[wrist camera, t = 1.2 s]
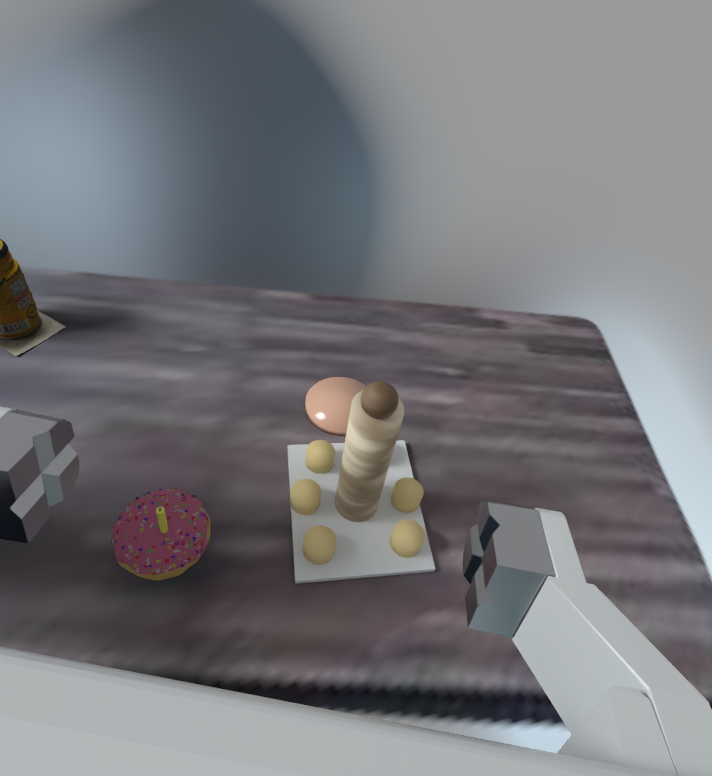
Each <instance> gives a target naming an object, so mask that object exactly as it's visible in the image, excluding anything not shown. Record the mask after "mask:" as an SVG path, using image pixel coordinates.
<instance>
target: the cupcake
mask: <svg viewBox="0 0 712 776" xmlns="http://www.w3.org/2000/svg"><path fill="white" fill-rule="evenodd" d="M210 527H211V523H210V518H209V516H208V514H207V512H206V510H205V509H204V505H203V504H202V502H201V501H199V500H198V498H196V496H195V497H194V496H193V495H190V494H188V493H186V492H184V491H181V490H177V489H167V490H161V489H160V490H158V491H153V492H152V493H151V492H149V494H148V493H147V494H146V495H143V496H142V497H140V498H139V497H136V500H135V501H134V502H132V503H131V504H130V505H129V506H128V507H126V508H125V510H124V511H123V512H122V514H121V515H120V517H119V518H118V520H117V521H116V523H115V525H114V527H113V530H112V542H111V543H112V544H113V546H114V552H115V557H116V559H117V561H118V563H119V565H120V566H122V567H123V568H125V569H126V570H128V571H129V572H131V573H133V574H135V575H137V576H139V577H142V578H145V579H149V580H164V579H168V578H171V577H176V576H179V575H181V574H182V573H184V572H185V571H186V570H187V569H188V568H189V567H190V566H192V565H193V564H195V563H196V562H197V561H198V560H199V559H200V557H201V555H202V554H203V552H204V551H205V549H206V547H207V544H208V542H209V539H210Z"/></svg>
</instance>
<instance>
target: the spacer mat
mask: <svg viewBox="0 0 712 776" xmlns="http://www.w3.org/2000/svg"><path fill="white" fill-rule="evenodd" d="M344 444H345V443H329V442H327V441H324V440H316V441H313V442H311V443H310V444H304V445H288V446H287V449H288V467H289V484H290V506H291V519H292V536H293V554H294V571H295V584H296V583H307V582H319V581H331V580H342V579H354V578H365V577H377V576H389V575H400V574H412V573H423V572H434V571H435V565H434V561H433V557H432V553H431V549H430V545H429V540H428V536H427V532H426V528H425V524H424V520H423V515H422V511H421V507H420V502H421V499H422V497H423V493H424V491H423V487H422V485H421V484H420V483H419V482H418V481H417V480H415V479H414V478H413V474H412V470H411V466H410V461H409V457H408V453H407V449H406V445H405V441H396V444H395V447H394V451H393V454H392V458H391V461H390V465H389V468H388V471H387V475H386V478H385V482H384V485H383V489H382V492H381V496H380V499H379V503H378V506H377V509H376V512H375V514H374V515H373V516H372V517H371V518H370V519H368V520H366V521H363V522H352V521H349V520H347V519H345V518H343V517H342V516H341V515H340V514H339V512H338V511H337V509H336V506H335V498H336V492H337V486H338V480H339V474H340V468H341V462H342V456H343V450H344Z"/></svg>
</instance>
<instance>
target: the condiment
mask: <svg viewBox="0 0 712 776" xmlns="http://www.w3.org/2000/svg"><path fill="white" fill-rule="evenodd" d="M41 327H42V331H41ZM63 328H65V326H64V325H62V324H60V323H58V322H57V321H55V320H53V319H52V318H50V317H48V316H47V315H44V314H43V313H41V312H39V311H38V310H37V307H36V304H35V301H34V299H33V297H32V293H31V291H30V290H29V287H28V285H27V283H26V280H25V278H24V274H23V273H22V271H21V269H20V266H19V264H18V263H17V261H16V260H15V259H13V258H12V255H11V253H10V252H9V250H8V247H7V245H6V244H5V242H3V241H2V240H1V239H0V347H2V348H3V349H5V350H6V351H8V352H10V353H12V354H13V355H15V356H17V355H19V354H21V353H23V352H25V351H27V350H29V349H30V348H32V347H34V346H36V345H37V344H39V343H41V342H42V341H44V340H47V339H48V338H49V337H50V336H52V335H54V334H56V333H57V332H59V331H60V330H62V329H63Z"/></svg>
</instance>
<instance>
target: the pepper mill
mask: <svg viewBox="0 0 712 776" xmlns="http://www.w3.org/2000/svg"><path fill="white" fill-rule="evenodd" d="M403 416H404V406H403V403H402V402H401V400H400V399H399V398H398V394H397V392H396V390H395V388H394V387H393V386H392V385H390V384H389V383H387V382H383V381H376V382H373V383H371V384H369V385H368V386H366V388H365V389H364V390H362V391H360V392H359V393H357V394H356V395H355V396H354V398H353V400H352V403H351V409H350V415H349V421H348V427H347V432H346V438H345V444H344V450H343V456H342V462H341V468H340V474H339V480H338V486H337V492H336V498H335V506H336V509H337V511H338V512H339V514H340V515H341V516H342V517H343V518H345V519H347V520H349V521H352V522H363V521H366V520H368V519H370V518H371V517H372V516H373V515H374V514H375V512H376V509H377V506H378V503H379V499H380V496H381V492H382V489H383V485H384V482H385V478H386V475H387V471H388V468H389V465H390V461H391V458H392V454H393V451H394V447H395V444H396V440H397V437H398V433H399V430H400V427H401V423H402V420H403Z"/></svg>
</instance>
